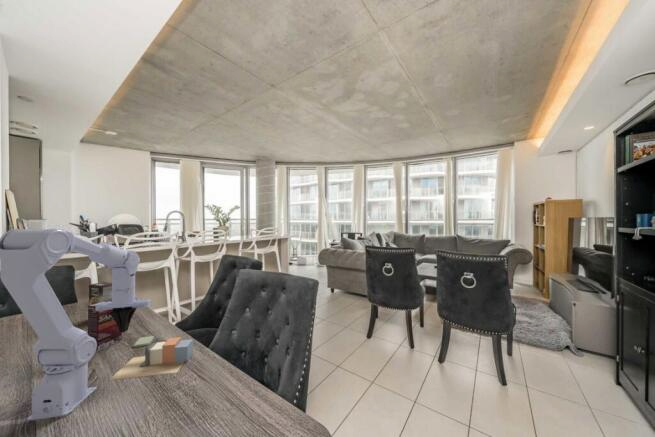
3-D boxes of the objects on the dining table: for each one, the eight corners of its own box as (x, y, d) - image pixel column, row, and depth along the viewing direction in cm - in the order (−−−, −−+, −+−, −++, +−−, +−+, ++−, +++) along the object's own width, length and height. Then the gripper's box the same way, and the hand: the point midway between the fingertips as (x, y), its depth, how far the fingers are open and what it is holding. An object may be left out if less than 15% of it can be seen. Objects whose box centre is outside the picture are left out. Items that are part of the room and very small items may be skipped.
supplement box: (97, 353, 84) (97, 306, 85) (86, 352, 85) (86, 305, 86) (123, 341, 93) (123, 298, 93) (112, 340, 94) (112, 298, 94)
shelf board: (177, 374, 72) (177, 372, 72) (108, 382, 69) (108, 380, 69) (191, 353, 84) (191, 351, 84) (133, 358, 81) (133, 357, 81)
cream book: (162, 363, 77) (162, 348, 77) (149, 364, 76) (149, 350, 76) (169, 354, 82) (169, 341, 82) (157, 356, 81) (157, 342, 81)
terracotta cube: (174, 362, 77) (174, 344, 78) (162, 363, 77) (162, 345, 77) (181, 353, 82) (181, 337, 82) (169, 354, 82) (169, 338, 82)
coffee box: (87, 319, 114) (88, 284, 114) (104, 314, 120) (104, 281, 121) (101, 321, 112) (101, 286, 112) (117, 316, 118) (117, 282, 118)
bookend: (148, 365, 75) (148, 347, 75) (139, 366, 75) (139, 348, 75) (158, 354, 82) (158, 338, 82) (150, 355, 81) (150, 338, 81)
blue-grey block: (187, 360, 78) (187, 346, 78) (174, 362, 77) (174, 347, 78) (192, 352, 83) (192, 339, 83) (181, 353, 82) (181, 340, 82)
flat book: (148, 348, 88) (148, 343, 89) (133, 350, 87) (133, 345, 87) (154, 340, 94) (154, 335, 94) (140, 342, 93) (140, 337, 93)
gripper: (155, 284, 84) (155, 323, 84) (106, 286, 82) (106, 327, 81) (144, 289, 77) (144, 333, 77) (90, 292, 75) (90, 337, 75)
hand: (123, 331), depth 79 cm, fingers closed
